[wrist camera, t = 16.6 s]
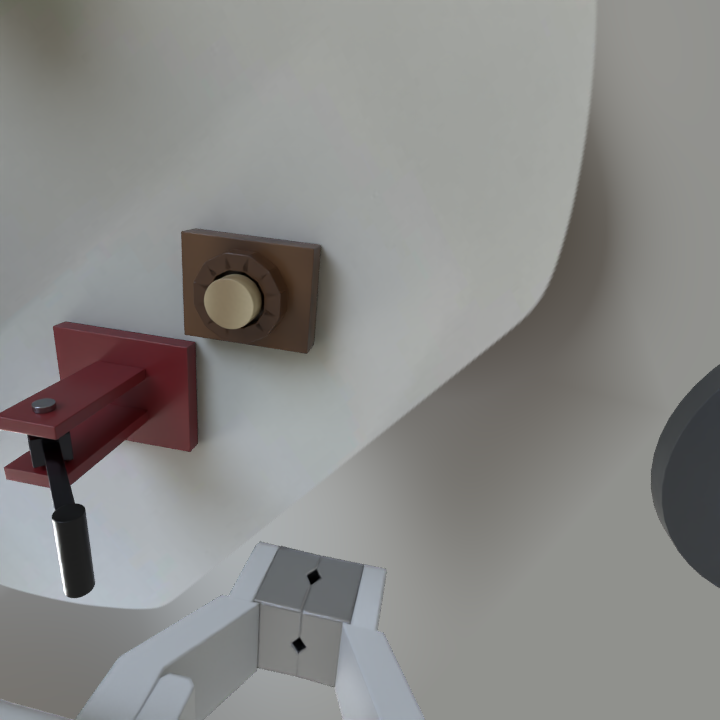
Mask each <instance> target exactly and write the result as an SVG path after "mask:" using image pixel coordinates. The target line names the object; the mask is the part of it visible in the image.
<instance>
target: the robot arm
mask: <svg viewBox="0 0 720 720" xmlns="http://www.w3.org/2000/svg"><path fill="white" fill-rule="evenodd" d="M386 574H387V570H386V568H381V567H376V566H370V565H366V564H365V566H364V564H360V563H355V562H351V561H345V560H341V559H335V558H331V557H326V556H320V555H316V554H312V553H308V552H304V551H300V550H296V549H291V548H287V547H283V546H277V545H273V544H269V543H265V542H261V541H260V542H259V543H258V544H257V545H256V546H255V548H254V550H253V551H252V553H251V555H250V557H249V559H248V560H247V563H246V564H245V566H244V568H243V570H242V572H241V573H240V575H239V577H238V579H237V581H236V583H235V584H234V586H233V588H232V590H231V592H230V594H229V595H228V596H226V595H220V596H219V597H217V598H216V599H214V600H212V601H211V602H209V603H207V604H206V605H204V606H202V607H201V608H199V609H197V610H196V611H194V612H192V613H191V614H189V615H188V616H186V617H184V618H182V619H181V620H179V621H178V622H176V623H174V624H173V625H171V626H169V627H168V628H166V629H164V630H163V631H161V632H159V633H158V634H156V635H154V636H153V637H151V638H150V639H148V640H146V641H145V642H143V643H141V644H140V645H138V646H136V647H135V648H133V649H131V650H130V651H128V652H126V653H125V654H123V655H121V656H120V657H119V658H118V659H117V661H116V662H115V663H114V665H113V666H112V668H111V669H110V671H109V672H108V673H107V675H106V676H105V678H104V679H103V681H102V682H101V683H100V685H99V686H98V687H97V689H96V690H95V692H94V693H93V695H92V696H91V697H90V699H89V700H88V702H87V703H86V704H85V706H84V707H83V709H82V710H81V712H80V713H79V714H78V716H77V717H76V719H75V720H204V719H205V718H206V717H207V716H208V715H210V714H211V713H212V712H213V711H214V710H215V709H216V708H217V707H218V706H219V705H220V704H221V703H222V702H224V701H225V700H226V699H227V698H228V697H229V696H230V695H231V694H232V693H233V692H234V691H235V690H237V689H238V688H239V687H240V686H241V685H242V684H243V683H244V682H245V681H246V680H247V679H248V678H250V677H251V676H252V675H253V674H254V673H255V672H256V671H257V668H260V669H264V670H269V671H274V672H279V673H283V674H287V675H292V676H296V677H300V678H304V679H307V680H310V681H314V682H318V683H321V684H325V685H328V686H332V687H335V693H336V696H337V700H338V703H339V707H340V710H341V714H342V718H343V720H425V718H424V716H423V714H422V712H421V710H420V708H419V705H418V703H417V701H416V699H415V697H414V695H413V693H412V691H411V689H410V687H409V685H408V682H407V680H406V678H405V676H404V674H403V672H402V670H401V668H400V666H399V663H398V661H397V659H396V657H395V655H394V653H393V651H392V649H391V647H390V645H389V643H388V640H387V639H386V636H385V634H384V633H383V632H379V631H377V630H378V624H379V617H380V611H381V605H382V599H383V593H384V586H385V580H386ZM0 720H73V719H70V718H66V717H62V716H59V715H55V714H52V713H48V712H45V711H41V710H38V709H34V708H30V707H27V706H23V705H19V704H16V703H13V702H9V701H5V700H2V699H0Z"/></svg>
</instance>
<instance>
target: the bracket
mask: <svg viewBox="0 0 720 720" xmlns="http://www.w3.org/2000/svg"><path fill="white" fill-rule="evenodd" d="M53 331H54V338H55V345H56V352H57V360H58V367H59V374H60V381H59V382H57V383H55V384H53V385H51V386H49V387H47V388H46V389H44V390H42V391H40V392H38V393H36V394H34V395H32V396H31V397H29V398H27V399H25V400H23V401H21V402H19V403H17V404H16V405H14V406H12V407H10V408H8V409H6V410H4V411H2V412H1V413H0V430H5V431H11V432H16V433H22V434H27V435H32V436H38V437H43V438H48V439H54V440H57V439H59V438H60V437H62V436H63V435H64V434H66V433H67V432H69V431H70V435H71V443H72V450H73V457H74V458H73V459H72V460H68V461H64V462H65V466H66V470H67V474H68V478H69V482H70V485H72V484H73V483H74V482H75V481H76V480H78V479H79V478H80V477H81V476H82V475H84V474H85V473H86V472H87V471H88V470H90V469H91V468H92V467H93V466H94V465H96V464H97V463H98V462H99V461H100V460H102V459H103V458H104V457H105V456H106V455H108V454H109V453H110V452H111V451H112V450H114V449H115V448H116V447H117V446H118V445H120V444H121V443H122V442H123V441H124V440H128V441H133V442H139V443H144V444H150V445H155V446H161V447H166V448H172V449H177V450H183V451H188V452H191V451H192V449H193V448H194V447H195V446H196V445H197V444H198V429H197V388H196V347H195V342H192V341H186V340H179V339H173V338H167V337H160V336H154V335H147V334H141V333H135V332H128V331H122V330H116V329H109V328H103V327H96V326H90V325H84V324H77V323H71V322H63V323H60V324H58V325H55V326H53ZM4 471H5V476H6V479H7V480H12V481H17V482H23V483H28V484H33V485H38V486H43V487H48V488H50V486H49V481H48V476H47V471H46V466H41V467H37V468H33V465H32V460H31V454H30V451H28V452H27V453H25V454H24V455H22V456H20V457H19V458H17V459H16V460H14V461H13V462H11V463H10V464H8V465H7V466H5V467H4Z"/></svg>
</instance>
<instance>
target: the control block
mask: <svg viewBox="0 0 720 720" xmlns="http://www.w3.org/2000/svg"><path fill="white" fill-rule="evenodd" d="M181 240H182V270H183V300H184V330H185V335H190V336H197V337H203V338H210V339H216V340H223V341H229V342H236V343H242V344H248V345H255V346H261V347H268V348H274V349H281V350H287V351H293V352H300V353H306V354H307V353H308V352H309V350H310V349H311V348H312V346H313V345H314V338H315V324H316V310H317V296H318V282H319V269H320V255H321V245H318V244H311V243H303V242H295V241H288V240H280V239H272V238H264V237H257V236H249V235H241V234H234V233H226V232H218V231H211V230H203V229H191V230H186V231H182V232H181ZM230 274H240V275H244V276H246V277H248V278H249V279H251V280H252V281H253V282H254V283H255V284H256V285H257V287H258V289H259V291H260V293H261V297H262V306H261V310H260V312H259V314H258V315H257V316H256V317H255V318H254V319H253V320H252V321H250V322H249V323H248V324H246V325H245V326H243V327H241V328H238V329H227V328H223V327H221V326H219V325H218V324H216V323H215V322H214V321H213V320H212V319H211V318H210V317H209V315H208V313H207V311H206V309H205V305H204V296H205V292H206V290H207V288H208V287H209V285H210V284H211V283H213V282H214V281H216V280H218V279H220V278H222V277H224V276H227V275H230Z"/></svg>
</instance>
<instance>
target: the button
mask: <svg viewBox="0 0 720 720" xmlns="http://www.w3.org/2000/svg"><path fill="white" fill-rule="evenodd" d="M204 305H205V309H206V311H207V313H208V315H209V317H210V318H211V319H212V320H213V321H214V322H215V323H216V324H218V325H219V326H221V327H223V328H227V329H238V328H241V327H243V326H245V325H246V324H248V323H249V322H250V321H252V320H253V319H254V318H255V317H256V316H257V315H258V314H259V312H260V310H261V306H262V297H261V293H260V291H259V289H258V287H257V285H256V284H255V283H254V282H253V281H252V280H251V279H249V278H248V277H246V276H244V275H240V274H230V275H227V276H224V277H222V278H220V279H218V280H216V281H214V282H213V283H211V284H210V285H209V287H208V288H207V290H206V292H205V296H204Z"/></svg>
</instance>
